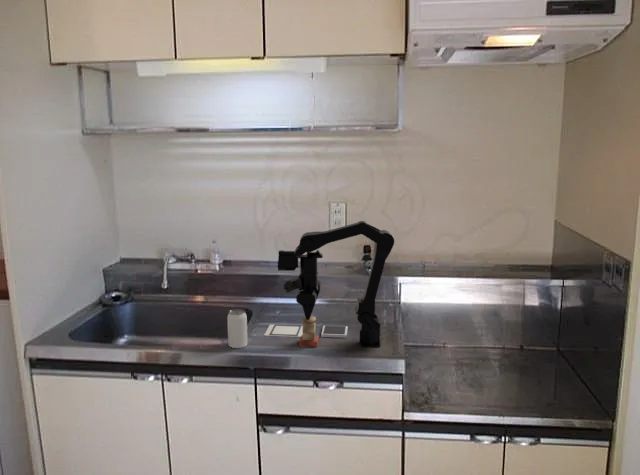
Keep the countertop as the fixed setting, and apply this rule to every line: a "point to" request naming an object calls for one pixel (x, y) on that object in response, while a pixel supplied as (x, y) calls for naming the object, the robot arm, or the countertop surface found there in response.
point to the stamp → (309, 333)
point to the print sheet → (284, 330)
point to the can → (237, 328)
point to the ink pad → (334, 331)
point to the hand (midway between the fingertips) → (309, 315)
